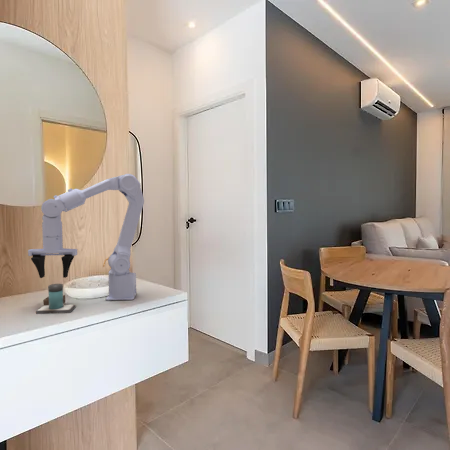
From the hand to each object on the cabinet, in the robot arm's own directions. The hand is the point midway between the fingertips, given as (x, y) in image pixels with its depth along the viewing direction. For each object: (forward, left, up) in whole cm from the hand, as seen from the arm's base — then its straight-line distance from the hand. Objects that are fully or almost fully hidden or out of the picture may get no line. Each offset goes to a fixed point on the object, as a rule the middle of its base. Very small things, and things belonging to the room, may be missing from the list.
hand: (53, 277), depth 107 cm
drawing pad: (-3, +5, -9) cm, 11 cm away
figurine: (-14, -27, -10) cm, 32 cm away
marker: (-3, +5, -8) cm, 10 cm away
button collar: (0, 0, -9) cm, 9 cm away
